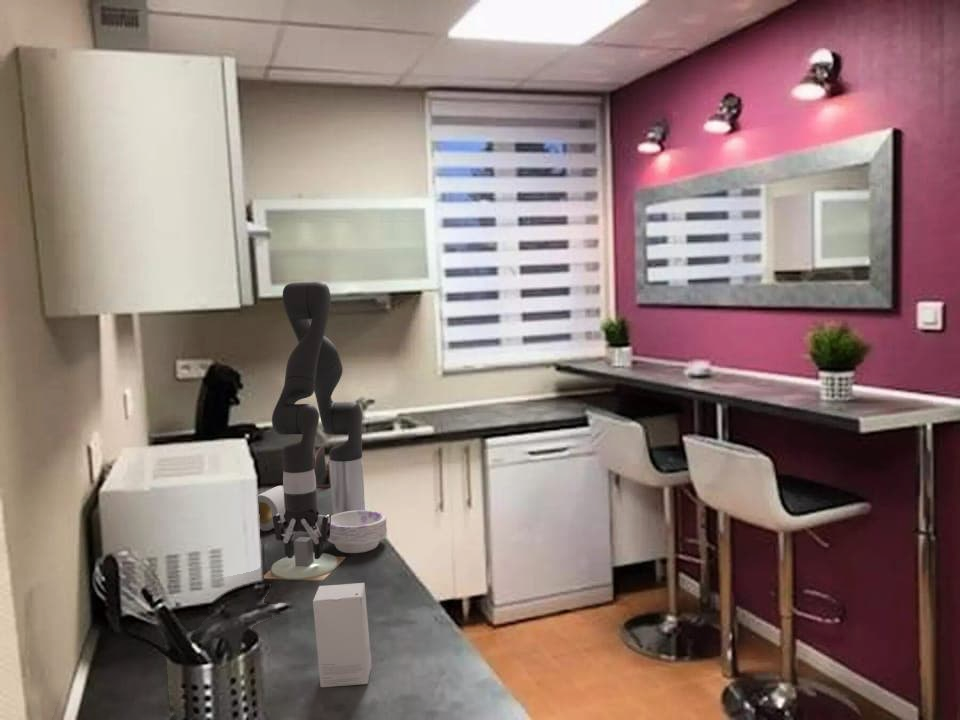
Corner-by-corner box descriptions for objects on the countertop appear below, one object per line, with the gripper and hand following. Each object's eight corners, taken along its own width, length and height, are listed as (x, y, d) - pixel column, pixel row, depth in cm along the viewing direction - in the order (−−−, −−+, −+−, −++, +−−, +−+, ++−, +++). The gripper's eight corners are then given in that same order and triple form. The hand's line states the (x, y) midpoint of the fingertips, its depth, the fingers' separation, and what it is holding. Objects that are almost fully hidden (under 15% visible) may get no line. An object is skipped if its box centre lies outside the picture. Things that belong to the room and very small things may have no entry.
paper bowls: (393, 537, 207) (391, 508, 206) (380, 558, 192) (378, 527, 191) (336, 538, 208) (334, 508, 207) (319, 558, 193) (317, 527, 192)
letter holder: (300, 489, 259) (297, 447, 258) (310, 474, 279) (308, 435, 277) (330, 488, 259) (328, 446, 258) (339, 473, 279) (337, 434, 278)
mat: (288, 556, 195) (288, 554, 195) (346, 558, 192) (346, 556, 192) (260, 580, 180) (260, 577, 180) (322, 582, 177) (322, 580, 177)
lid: (288, 554, 195) (286, 528, 194) (346, 556, 192) (345, 529, 191) (260, 578, 180) (258, 549, 180) (322, 580, 177) (320, 551, 177)
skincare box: (372, 667, 138) (367, 581, 136) (368, 686, 131) (363, 597, 130) (324, 669, 138) (318, 583, 136) (317, 689, 131) (312, 599, 129)
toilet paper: (279, 532, 215) (276, 496, 214) (248, 529, 218) (245, 494, 217) (299, 520, 225) (296, 486, 223) (268, 518, 228) (266, 484, 227)
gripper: (335, 484, 186) (338, 553, 188) (278, 483, 189) (282, 551, 191) (322, 493, 179) (326, 564, 181) (264, 492, 182) (268, 562, 184)
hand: (304, 557), depth 186 cm, fingers open, 6 cm apart
